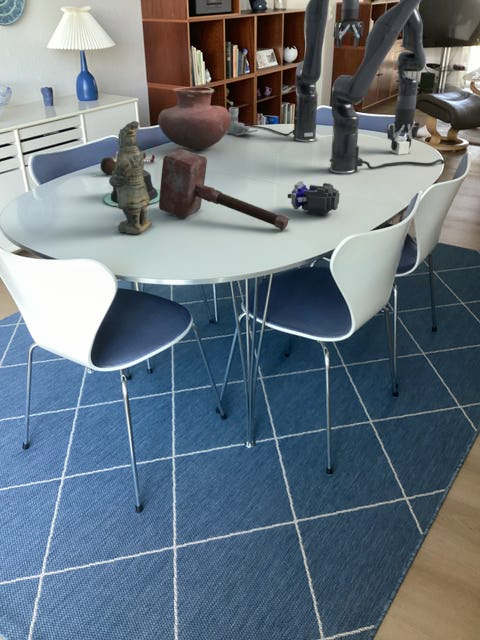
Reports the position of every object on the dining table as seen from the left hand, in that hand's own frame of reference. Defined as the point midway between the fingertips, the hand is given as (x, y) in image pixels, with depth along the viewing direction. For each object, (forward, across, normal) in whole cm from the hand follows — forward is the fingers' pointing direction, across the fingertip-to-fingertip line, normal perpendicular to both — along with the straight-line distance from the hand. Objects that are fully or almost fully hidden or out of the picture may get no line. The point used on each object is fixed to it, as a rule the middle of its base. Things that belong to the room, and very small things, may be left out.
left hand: (347, 47), depth 260 cm
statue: (+36, +121, +103) cm, 163 cm away
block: (+36, +2, +56) cm, 66 cm away
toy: (+36, +67, +110) cm, 133 cm away
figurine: (+36, +113, +36) cm, 124 cm away
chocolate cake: (+36, +116, +74) cm, 142 cm away
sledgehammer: (+36, +94, +106) cm, 146 cm away
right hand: (+34, +2, +56) cm, 66 cm away
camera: (+36, +52, -4) cm, 64 cm away
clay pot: (+36, +79, +16) cm, 89 cm away
